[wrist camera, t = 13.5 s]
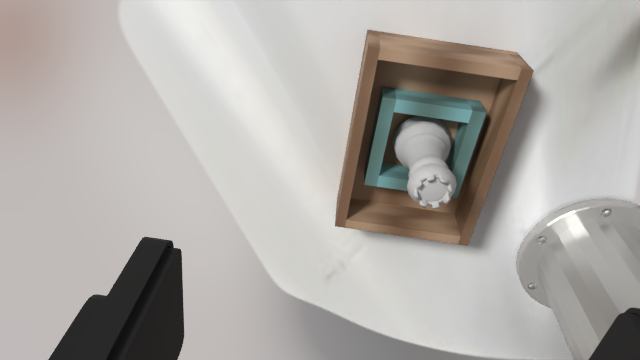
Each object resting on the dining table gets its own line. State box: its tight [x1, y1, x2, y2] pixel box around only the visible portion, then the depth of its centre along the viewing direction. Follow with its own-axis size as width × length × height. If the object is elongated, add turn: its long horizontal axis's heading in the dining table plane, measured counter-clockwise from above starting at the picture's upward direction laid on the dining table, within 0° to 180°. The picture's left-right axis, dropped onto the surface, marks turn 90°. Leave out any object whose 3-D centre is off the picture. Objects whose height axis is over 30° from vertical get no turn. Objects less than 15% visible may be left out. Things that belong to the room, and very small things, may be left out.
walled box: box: [335, 30, 533, 246], centre depth 37 cm, size 11×15×4 cm
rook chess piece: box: [393, 116, 457, 209], centre depth 35 cm, size 4×4×8 cm
